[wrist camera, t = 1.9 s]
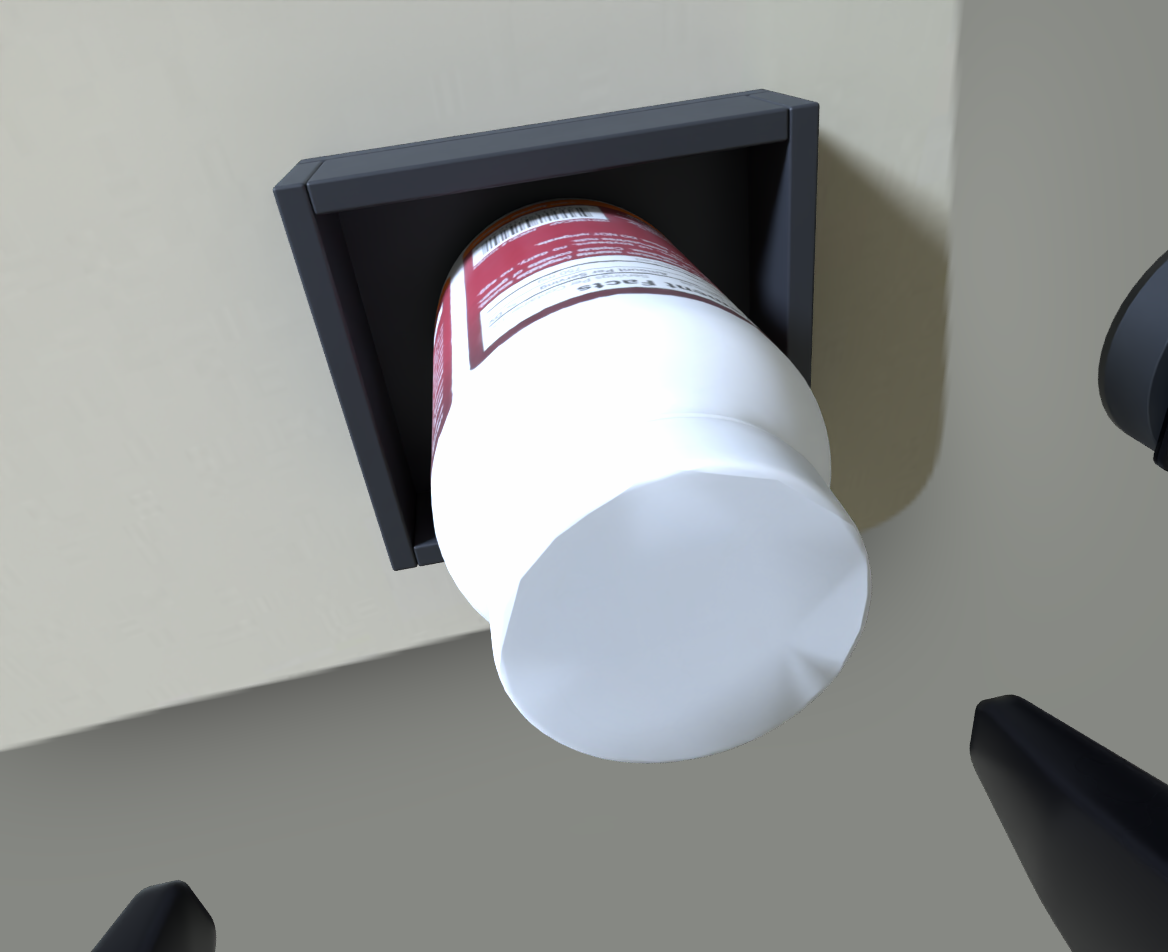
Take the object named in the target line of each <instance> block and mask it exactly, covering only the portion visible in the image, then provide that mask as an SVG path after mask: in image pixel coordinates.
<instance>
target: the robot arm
mask: <svg viewBox="0 0 1168 952" xmlns="http://www.w3.org/2000/svg"><path fill="white" fill-rule="evenodd" d="M1153 461H1154V463H1155V464H1156V465H1158V466H1159V467H1161V468H1162V469H1164V470H1166V471H1168V408H1167V411H1166V414H1165V418H1164V421H1163V424H1162V428H1161V431H1160V435H1159V438H1158V441H1157V445H1156V448H1155V451H1154V456H1153ZM970 756H971V760H972V763H973V766H974V768H975V771H976V773H977V775H978V777H979V779H980V781H981V783H982V785H983V787H984V789H985V791H986V793H987V795H988V797H989V799H990V801H991V803H992V805H993V807H994V809H995V811H996V813H997V815H998V817H999V819H1000V821H1001V823H1002V825H1003V827H1004V829H1005V831H1006V833H1007V835H1008V837H1009V839H1010V841H1011V843H1012V845H1013V847H1014V849H1015V851H1016V853H1017V855H1018V857H1019V859H1020V861H1021V863H1022V865H1023V867H1024V869H1025V871H1026V873H1027V875H1028V877H1029V879H1030V881H1031V883H1032V885H1033V887H1034V889H1035V891H1036V892H1037V894H1038V896H1039V898H1040V900H1041V902H1042V903H1043V905H1044V906H1045V909H1046V910H1047V912H1048V914H1049V915H1050V917H1051V919H1052V920H1053V922H1054V924H1055V925H1056V927H1057V928H1058V930H1059V931H1060V933H1061V935H1062V936H1063V938H1064V940H1065V941H1066V943H1067V944H1068V946H1069V947H1070V949H1071V951H1072V952H1168V785H1167V784H1165V783H1164V782H1162V781H1161V780H1159V779H1157V778H1156V777H1154V776H1152V775H1150V774H1149V773H1147V772H1145V771H1144V770H1142V769H1140V768H1139V767H1137V766H1135V765H1134V764H1132V763H1130V762H1129V761H1127V760H1125V759H1124V758H1122V757H1120V756H1119V755H1117V754H1115V753H1114V752H1112V751H1110V750H1109V749H1107V748H1105V747H1104V746H1102V745H1100V744H1099V743H1097V742H1095V741H1093V740H1092V739H1090V738H1089V737H1087V736H1085V735H1084V734H1082V733H1080V732H1078V731H1077V730H1075V729H1074V728H1072V727H1070V726H1068V725H1067V724H1065V723H1064V722H1062V721H1060V720H1059V719H1057V718H1055V717H1053V716H1052V715H1050V714H1048V713H1047V712H1045V711H1043V710H1042V709H1040V708H1038V707H1037V706H1035V705H1033V704H1032V703H1030V702H1028V701H1027V700H1025V699H1023V698H1021V697H1019V696H1016V695H1004V696H1000V697H995V698H991V699H986V700H983V701H981V702H980V703H979V704H978V705H977V707H976V710H975V716H974V722H973V729H972V735H971V742H970ZM215 947H216V930H215V925H214V922H213V919H212V918H211V916H210V915H209V913H208V912H207V910H206V909H205V908H204V906H203V905H202V903H201V902H200V901H199V899H198V898H197V897H196V895H195V894H194V893H193V891H192V890H191V888H190V887H189V886H188V885H187V884H186V883H185V882H183V881H180V880H176V881H171V882H166V883H162V884H158V885H153V886H149V887H147V888H145V889H143V890H141V891H140V892H139V893H138V894H137V895H136V896H135V897H134V898H133V899H132V901H131V902H130V903H129V904H128V906H127V907H126V908H125V910H124V911H123V912H122V914H121V915H120V916H119V917H118V918H117V920H116V921H115V922H114V923H113V925H112V926H111V927H110V928H109V930H108V931H107V932H106V934H105V935H104V936H103V938H102V939H101V940H100V941H99V943H98V944H97V945H96V946H95V948H94V949H93V950H92V951H91V952H215Z"/></svg>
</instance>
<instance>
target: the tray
mask: <svg viewBox="0 0 1168 952" xmlns="http://www.w3.org/2000/svg"><path fill="white" fill-rule="evenodd" d="M818 135H819V103H817V102H813V101H809V100H805V99H801V98H797V97H793V96H789V95H785V94H781V93H777V92H773V91H769V90H765V89H758V90H752V91H745V92H739V93H732V94H726V95H719V96H713V97H706V98H700V99H693V100H687V101H680V102H674V103H668V104H661V105H655V106H648V107H642V108H635V109H629V110H622V111H616V112H609V113H603V114H596V115H590V116H583V117H577V118H570V119H564V120H557V121H551V122H544V123H538V124H531V125H525V126H518V127H512V128H505V129H499V130H492V131H486V132H479V133H473V134H466V135H460V136H453V137H447V138H440V139H434V140H427V141H421V142H414V143H408V144H401V145H395V146H388V147H382V148H375V149H369V150H362V151H356V152H349V153H343V154H336V155H330V156H323V157H317V158H311V159H304V160H301V161H300V162H299V163H298V164H297V165H296V166H295V167H294V168H293V169H292V170H291V171H290V172H289V173H288V174H287V175H286V176H285V177H284V178H283V179H282V180H281V181H280V182H279V183H278V184H277V185H276V186H275V187H274V188H273V193H274V196H275V199H276V202H277V206H278V209H279V212H280V215H281V218H282V221H283V224H284V228H285V231H286V234H287V237H288V240H289V243H290V247H291V250H292V253H293V256H294V259H295V262H296V265H297V269H298V272H299V275H300V278H301V281H302V284H303V288H304V291H305V294H306V297H307V300H308V303H309V306H310V310H311V313H312V316H313V319H314V322H315V325H316V329H317V332H318V335H319V338H320V341H321V344H322V347H323V351H324V354H325V357H326V360H327V363H328V366H329V370H330V373H331V376H332V379H333V382H334V385H335V388H336V392H337V395H338V398H339V401H340V404H341V407H342V411H343V414H344V417H345V420H346V423H347V426H348V429H349V433H350V436H351V439H352V442H353V445H354V448H355V451H356V455H357V458H358V461H359V464H360V467H361V470H362V474H363V477H364V480H365V483H366V486H367V489H368V492H369V496H370V499H371V502H372V505H373V508H374V511H375V515H376V518H377V521H378V524H379V527H380V530H381V533H382V537H383V540H384V543H385V546H386V549H387V552H388V556H389V559H390V562H391V565H392V568H393V570H394V571H398V570H403V569H409V568H414V567H417V565H419V566H424V565H430V564H435V563H440V562H445V561H444V559H443V556H442V553H441V550H440V547H439V544H438V541H437V537H436V534H435V528H434V520H433V511H432V498H431V460H432V418H433V353H434V327H435V319H436V313H437V307H438V303H439V298H440V294H441V291H442V288H443V285H444V283H445V281H446V278H447V276H448V274H449V272H450V270H451V268H452V266H453V265H454V263H455V262H456V260H457V259H458V257H459V256H460V254H461V253H462V251H463V250H464V249H465V248H466V246H467V245H468V244H469V243H470V242H471V241H472V240H473V239H474V238H475V237H476V236H477V235H478V234H479V233H480V232H481V231H482V230H484V229H485V228H486V227H487V226H489V225H490V224H491V223H493V222H494V221H495V220H497V219H499V218H500V217H502V216H504V215H506V214H508V213H510V212H512V211H514V210H516V209H519V208H521V207H523V206H526V205H529V204H532V203H536V202H540V201H544V200H550V199H558V198H581V199H591V200H597V201H601V202H605V203H609V204H612V205H615V206H617V207H620V208H623V209H625V210H627V211H629V212H631V213H633V214H635V215H636V216H638V217H640V218H642V219H643V220H644V221H646V222H648V223H649V224H651V225H652V226H653V227H654V228H656V229H657V230H658V231H659V232H661V233H662V234H663V235H664V236H665V237H666V238H667V239H668V240H669V241H670V242H671V243H672V244H673V245H674V246H675V247H676V248H677V249H678V250H679V251H680V252H681V253H682V254H683V255H684V256H685V257H686V258H687V259H688V260H689V261H690V262H691V263H692V264H693V265H694V266H695V267H696V268H697V269H698V270H699V271H700V272H701V273H702V274H703V275H704V276H706V277H707V278H708V279H709V280H710V281H711V282H712V283H713V284H714V285H715V286H716V287H717V288H718V289H719V290H720V291H721V292H722V293H723V294H724V295H725V296H726V297H727V298H728V299H729V300H730V301H731V302H732V303H733V304H734V305H735V306H736V307H737V308H738V309H739V310H740V311H741V312H742V313H743V314H744V315H745V316H746V317H747V318H748V319H750V320H751V321H752V322H753V323H754V324H755V325H756V326H757V327H759V329H760V330H761V331H762V332H763V333H764V334H765V335H766V336H767V337H768V338H769V339H770V340H771V341H772V342H773V343H774V344H775V345H776V346H777V347H778V348H779V350H780V351H781V352H782V353H783V354H784V355H785V356H786V357H787V358H788V359H789V360H790V361H791V362H792V363H793V365H794V366H795V367H796V368H797V370H798V371H799V372H800V374H801V375H802V376H803V378H804V379H805V380H806V382H807V384H808V386H809V388H810V389H811V357H812V325H813V294H814V262H815V230H816V199H817V167H818Z"/></svg>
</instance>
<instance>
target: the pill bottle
mask: <svg viewBox="0 0 1168 952" xmlns="http://www.w3.org/2000/svg"><path fill="white" fill-rule="evenodd" d="M830 483H831V454H830V446H829V440H828V435H827V430H826V426H825V423H824V420H823V417H822V414H821V411H820V408H819V406H818V403H817V400H816V399H815V397H814V395H813V393H812V391H811V390H810V388H809V386H808V384H807V382H806V380H805V379H804V378H803V376H802V375H801V374H800V372H799V371H798V370H797V368H796V367H795V366H794V365H793V363H792V362H791V361H790V360H789V359H788V358H787V357H786V356H785V355H784V354H783V353H782V352H781V351H780V350H779V348H778V347H777V346H776V345H775V344H774V343H773V342H772V341H771V340H770V339H769V338H768V337H767V336H766V335H765V334H764V333H763V332H762V331H761V330H760V329H759V327H757V326H756V325H755V324H754V323H753V322H752V321H751V320H750V319H748V318H747V317H746V316H745V315H744V314H743V313H742V312H741V311H740V310H739V309H738V308H737V307H736V306H735V305H734V304H733V303H732V302H731V301H730V300H729V299H728V298H727V297H726V296H725V295H724V294H723V293H722V292H721V291H720V290H719V289H718V288H717V287H716V286H715V285H714V284H713V283H712V282H711V281H710V280H709V279H708V278H707V277H706V276H704V275H703V274H702V273H701V272H700V271H699V270H698V269H697V268H696V267H695V266H694V265H693V264H692V263H691V262H690V261H689V260H688V259H687V258H686V257H685V256H684V255H683V254H682V253H681V252H680V251H679V250H678V249H677V248H676V247H675V246H674V245H673V244H672V243H671V242H670V241H669V240H668V239H667V238H666V237H665V236H664V235H663V234H662V233H661V232H659V231H658V230H657V229H656V228H654V227H653V226H652V225H651V224H649V223H648V222H646V221H644V220H643V219H642V218H640V217H638V216H636V215H635V214H633V213H631V212H629V211H627V210H625V209H623V208H620V207H617V206H615V205H612V204H609V203H605V202H601V201H597V200H591V199H581V198H558V199H550V200H544V201H540V202H536V203H532V204H529V205H526V206H523V207H521V208H519V209H516V210H514V211H512V212H510V213H508V214H506V215H504V216H502V217H500V218H499V219H497V220H495V221H494V222H493V223H491V224H490V225H489V226H487V227H486V228H485V229H484V230H482V231H481V232H480V233H479V234H478V235H477V236H476V237H475V238H474V239H473V240H472V241H471V242H470V243H469V244H468V245H467V246H466V248H465V249H464V250H463V251H462V253H461V254H460V256H459V257H458V259H457V260H456V262H455V263H454V265H453V266H452V268H451V270H450V272H449V274H448V276H447V278H446V281H445V283H444V285H443V288H442V291H441V294H440V298H439V303H438V307H437V313H436V319H435V327H434V353H433V418H432V460H431V498H432V511H433V520H434V528H435V534H436V537H437V541H438V544H439V547H440V550H441V553H442V556H443V559H444V561H445V563H446V566H447V568H448V570H449V572H450V574H451V576H452V577H453V579H454V581H455V583H456V585H457V586H458V588H459V589H460V591H461V592H462V593H463V594H464V596H465V597H466V598H467V600H468V601H469V602H470V604H471V605H472V606H473V607H474V608H475V609H476V610H477V611H478V612H479V613H480V614H481V615H482V616H483V617H484V618H485V619H486V620H487V621H488V622H490V626H491V636H492V646H493V654H494V660H495V664H496V668H497V671H498V674H499V677H500V680H501V682H502V684H503V686H504V689H505V691H506V693H507V694H508V696H509V697H510V699H511V700H512V701H513V703H514V704H515V706H516V707H517V708H518V709H519V711H520V712H521V713H522V715H523V716H525V718H526V719H527V720H528V721H529V722H530V723H531V724H532V725H534V726H535V727H536V728H537V729H539V730H540V731H541V732H543V733H544V734H546V735H547V736H549V737H551V738H553V739H554V740H556V741H557V742H559V743H561V744H563V745H566V746H567V747H570V748H572V749H574V750H577V751H579V752H583V753H585V754H588V755H592V756H595V757H598V758H602V759H608V760H613V761H620V762H628V763H646V764H649V763H669V762H678V761H684V760H691V759H696V758H702V757H707V756H711V755H714V754H718V753H721V752H725V751H728V750H730V749H733V748H735V747H738V746H740V745H743V744H745V743H748V742H750V741H752V740H754V739H756V738H759V737H761V736H763V735H765V734H767V733H768V732H770V731H772V730H774V729H775V728H777V727H779V726H780V725H782V724H784V723H785V722H786V721H788V720H790V719H791V718H792V717H794V716H795V715H797V714H798V713H800V712H801V711H802V710H803V709H804V708H805V707H806V706H808V705H809V704H810V703H811V702H812V701H814V700H815V699H816V698H817V697H818V696H819V695H820V694H821V693H822V692H823V691H824V690H825V689H826V688H827V687H828V686H829V685H830V684H831V683H832V681H833V680H834V679H835V678H836V677H837V676H838V674H839V673H840V671H841V670H842V669H843V667H844V666H845V664H846V663H847V661H848V659H849V658H850V656H851V654H852V652H853V651H854V649H855V647H856V645H857V643H858V641H859V639H860V637H861V635H862V632H863V630H864V627H865V624H866V622H867V617H868V612H869V607H870V602H871V594H872V576H871V575H872V574H871V568H870V563H869V558H868V553H867V550H866V548H865V545H864V542H863V540H862V537H861V535H860V533H859V530H858V528H857V526H856V525H855V523H854V522H853V520H852V519H851V517H850V516H849V514H848V513H847V512H846V510H845V509H844V507H843V506H842V505H841V503H840V502H839V501H838V499H837V498H836V497H835V495H834V494H833V492H832V491H831V490H830Z"/></svg>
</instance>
